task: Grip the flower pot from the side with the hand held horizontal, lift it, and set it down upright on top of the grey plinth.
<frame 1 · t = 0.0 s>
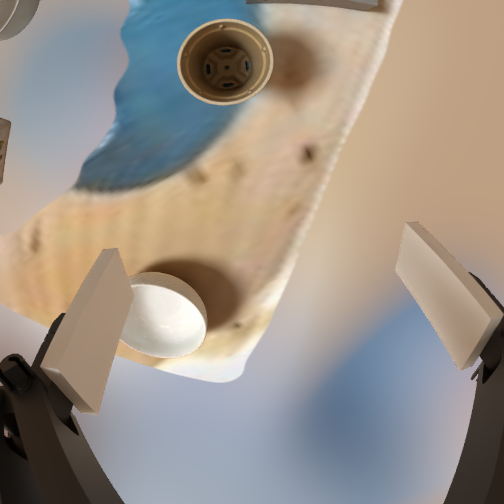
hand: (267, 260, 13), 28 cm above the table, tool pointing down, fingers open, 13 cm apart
teacup: (16, 17, 21), on the table
flower pot: (226, 67, 31), on the table
cereal bowl: (162, 297, 50), on the table
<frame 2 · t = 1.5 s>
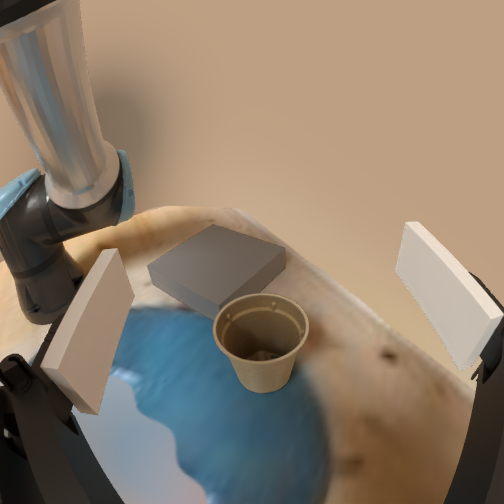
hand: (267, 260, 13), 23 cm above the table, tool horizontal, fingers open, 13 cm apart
flower pot: (263, 373, 33), on the table
plinth: (218, 276, 49), on the table
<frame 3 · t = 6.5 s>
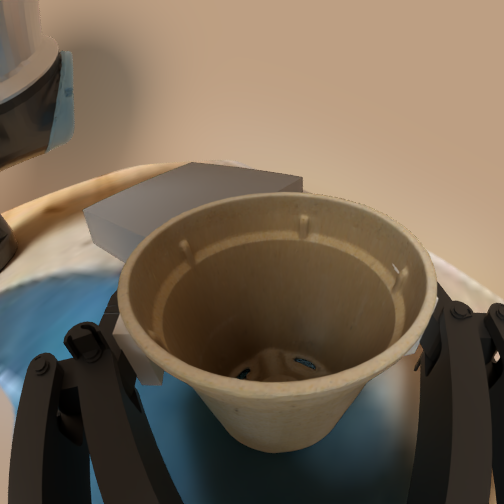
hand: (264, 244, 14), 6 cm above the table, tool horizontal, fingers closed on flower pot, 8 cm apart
flower pot: (277, 400, 13), on the table, touching gripper
plinth: (193, 227, 29), on the table
when the fingers open (11 cm above the table, at t = 11.6 s): flower pot drops 1 cm, resting on plinth.
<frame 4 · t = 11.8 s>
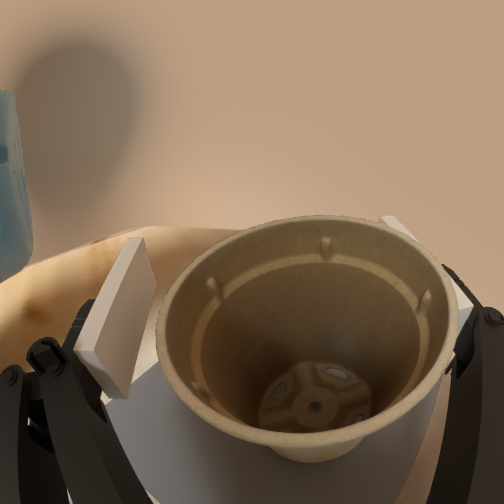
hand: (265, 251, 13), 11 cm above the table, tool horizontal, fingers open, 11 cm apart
flower pot: (313, 411, 13), point 4 cm above the table, touching gripper, plinth
plinth: (278, 436, 16), on the table
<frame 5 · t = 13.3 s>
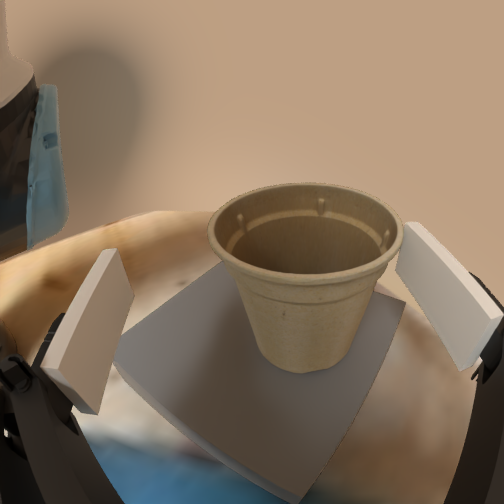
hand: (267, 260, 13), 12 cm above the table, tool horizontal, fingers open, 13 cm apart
flower pot: (302, 338, 19), point 4 cm above the table, touching plinth
plinth: (263, 366, 21), on the table
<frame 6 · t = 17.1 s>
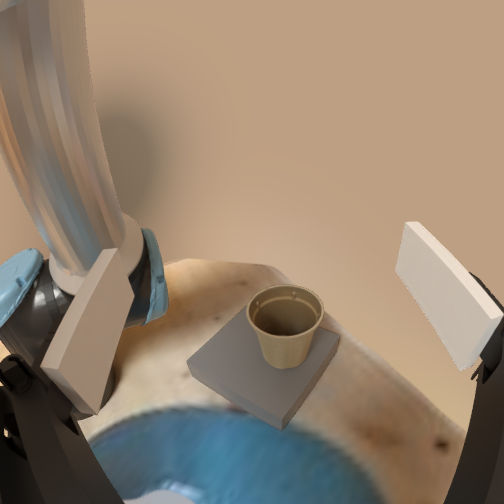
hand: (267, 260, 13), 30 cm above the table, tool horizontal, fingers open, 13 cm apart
flower pot: (284, 353, 39), point 4 cm above the table, touching plinth
plinth: (266, 366, 42), on the table
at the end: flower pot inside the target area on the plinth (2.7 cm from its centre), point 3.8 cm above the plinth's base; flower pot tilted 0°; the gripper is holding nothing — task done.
